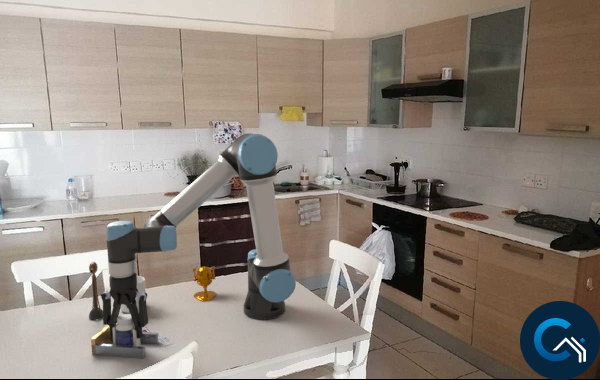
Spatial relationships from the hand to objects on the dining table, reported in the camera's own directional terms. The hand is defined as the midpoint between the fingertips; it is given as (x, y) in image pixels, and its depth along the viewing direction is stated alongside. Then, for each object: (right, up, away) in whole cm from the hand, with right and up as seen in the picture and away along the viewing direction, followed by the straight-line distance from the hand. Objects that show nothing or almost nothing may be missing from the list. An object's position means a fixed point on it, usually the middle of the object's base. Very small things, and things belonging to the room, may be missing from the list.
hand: (127, 346), depth 133 cm
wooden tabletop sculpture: (-19, +3, +20) cm, 28 cm away
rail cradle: (0, 0, 0) cm, 1 cm away
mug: (-9, +4, +29) cm, 31 cm away
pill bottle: (0, -1, 0) cm, 1 cm away
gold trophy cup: (+15, +5, +40) cm, 43 cm away
